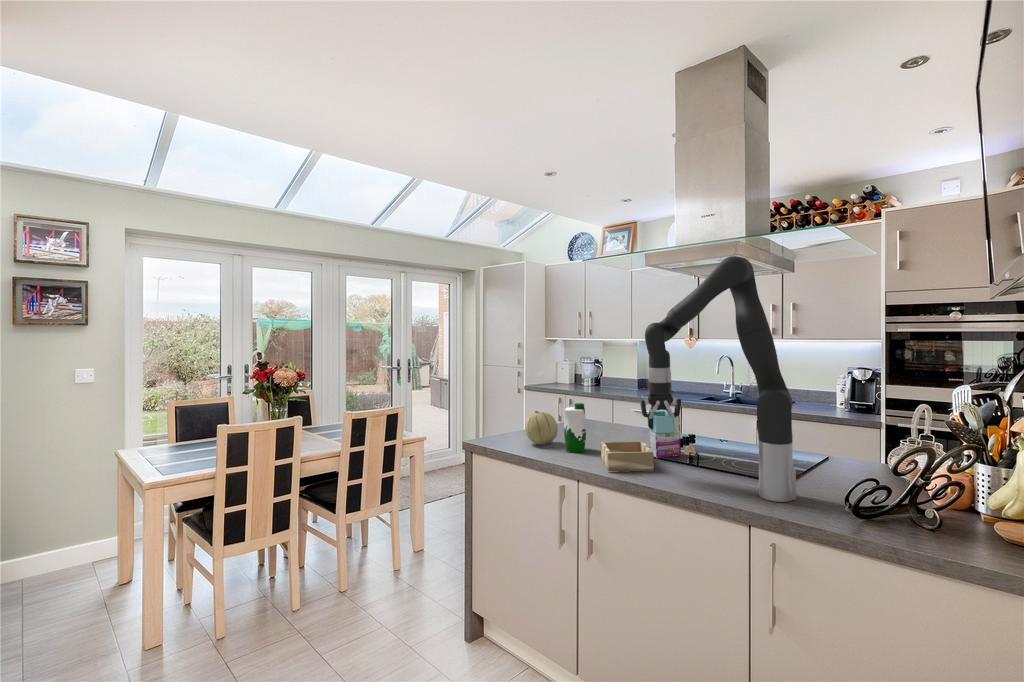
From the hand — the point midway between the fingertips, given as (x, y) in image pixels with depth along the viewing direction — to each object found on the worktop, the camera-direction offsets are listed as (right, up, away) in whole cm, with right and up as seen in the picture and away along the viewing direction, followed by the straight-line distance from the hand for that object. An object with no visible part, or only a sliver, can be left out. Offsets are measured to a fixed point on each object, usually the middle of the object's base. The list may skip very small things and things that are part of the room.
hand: (661, 428), depth 178 cm
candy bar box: (+10, -16, +29) cm, 35 cm away
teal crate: (0, -1, 0) cm, 1 cm away
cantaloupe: (-38, -17, +55) cm, 69 cm away
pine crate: (-8, -17, +18) cm, 26 cm away
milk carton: (-24, -17, +42) cm, 52 cm away
